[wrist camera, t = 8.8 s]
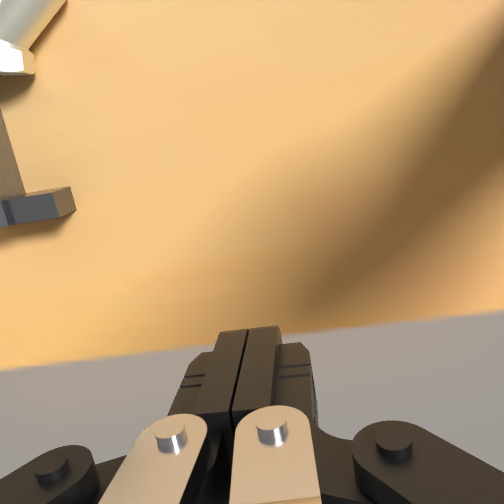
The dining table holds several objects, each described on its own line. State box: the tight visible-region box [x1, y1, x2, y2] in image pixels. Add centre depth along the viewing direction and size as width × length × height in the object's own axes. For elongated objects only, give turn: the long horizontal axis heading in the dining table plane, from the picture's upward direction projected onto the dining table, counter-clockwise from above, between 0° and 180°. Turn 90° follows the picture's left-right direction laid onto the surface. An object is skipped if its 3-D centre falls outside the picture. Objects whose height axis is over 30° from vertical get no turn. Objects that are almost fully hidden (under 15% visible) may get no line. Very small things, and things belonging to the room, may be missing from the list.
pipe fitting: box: [0, 0, 66, 75], centre depth 35 cm, size 8×4×7 cm
